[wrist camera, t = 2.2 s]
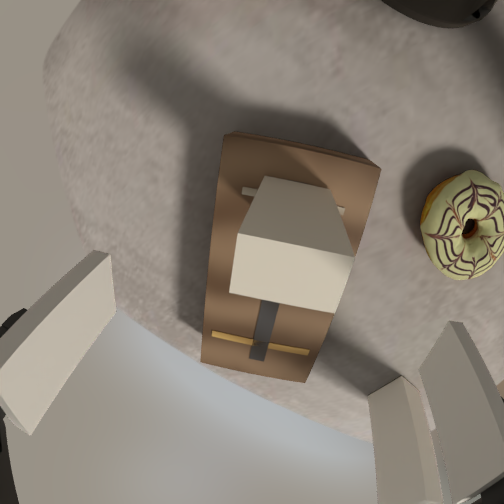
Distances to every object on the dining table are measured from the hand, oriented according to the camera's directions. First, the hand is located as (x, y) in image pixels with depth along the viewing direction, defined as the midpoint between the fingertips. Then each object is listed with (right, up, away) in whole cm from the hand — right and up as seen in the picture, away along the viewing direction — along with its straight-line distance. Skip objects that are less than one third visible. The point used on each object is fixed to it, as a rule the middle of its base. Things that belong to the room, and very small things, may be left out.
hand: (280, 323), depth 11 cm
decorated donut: (+20, +6, +15) cm, 26 cm away
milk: (+19, -18, +27) cm, 37 cm away
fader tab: (+2, +6, +12) cm, 14 cm away
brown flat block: (+2, +1, +20) cm, 20 cm away
